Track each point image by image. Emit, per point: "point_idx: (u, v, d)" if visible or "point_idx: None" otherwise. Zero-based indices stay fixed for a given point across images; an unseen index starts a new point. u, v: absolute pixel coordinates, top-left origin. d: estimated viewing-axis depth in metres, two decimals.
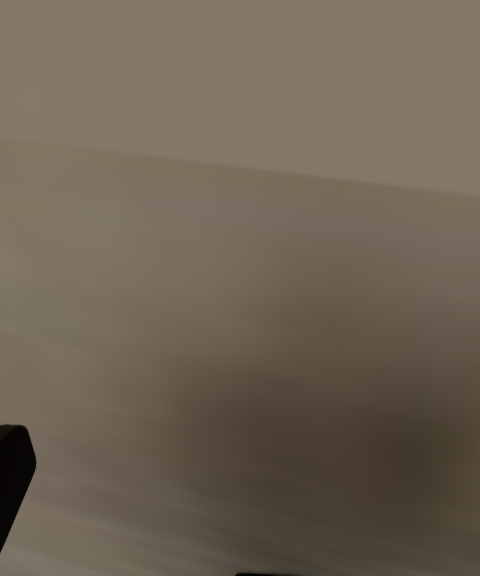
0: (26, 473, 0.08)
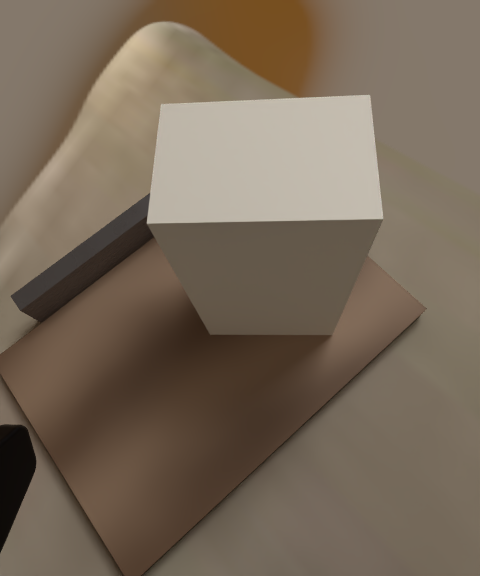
0: (26, 473, 0.08)
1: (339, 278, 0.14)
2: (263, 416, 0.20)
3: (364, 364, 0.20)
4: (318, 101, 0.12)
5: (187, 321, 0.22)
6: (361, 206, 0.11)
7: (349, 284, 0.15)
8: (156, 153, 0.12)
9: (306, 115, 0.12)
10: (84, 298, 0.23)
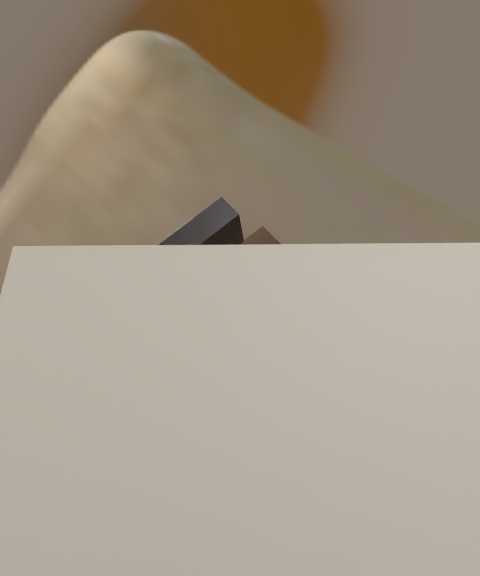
0: None
1: None
2: None
3: None
4: (426, 257, 0.04)
5: None
6: None
7: None
8: None
9: (395, 300, 0.04)
10: None
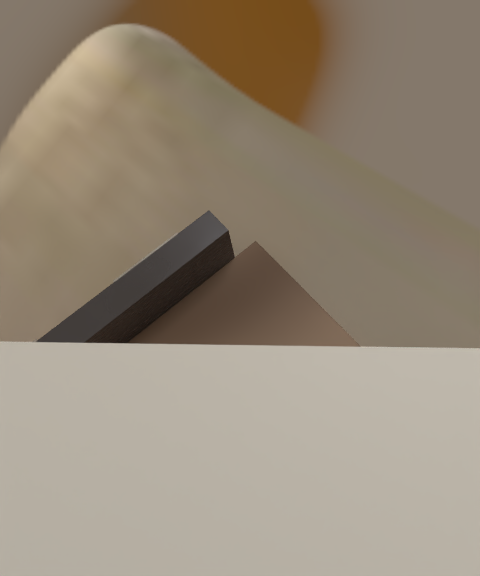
0: None
1: None
2: None
3: None
4: None
5: None
6: None
7: None
8: None
9: (453, 453, 0.03)
10: None
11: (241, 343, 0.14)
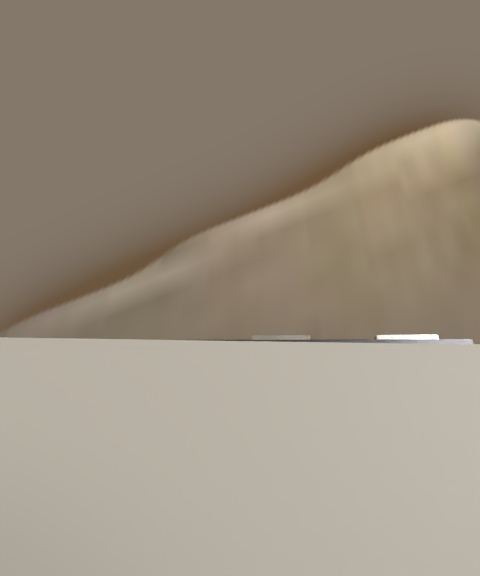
0: None
1: None
2: None
3: None
4: None
5: None
6: None
7: None
8: None
9: (450, 446, 0.03)
10: None
11: None
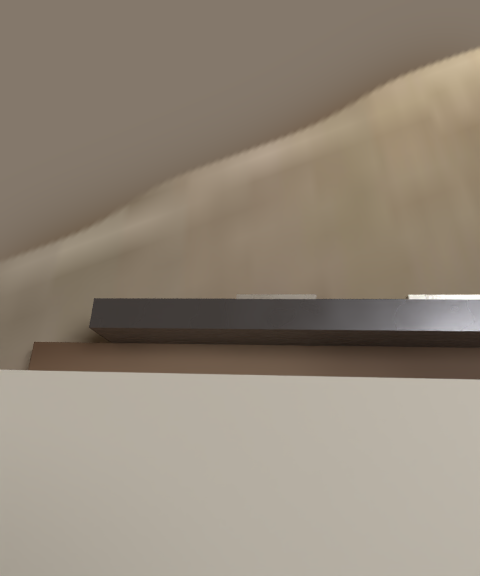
0: None
1: None
2: None
3: None
4: (442, 398, 0.04)
5: None
6: None
7: None
8: None
9: (404, 457, 0.03)
10: (176, 354, 0.15)
11: None
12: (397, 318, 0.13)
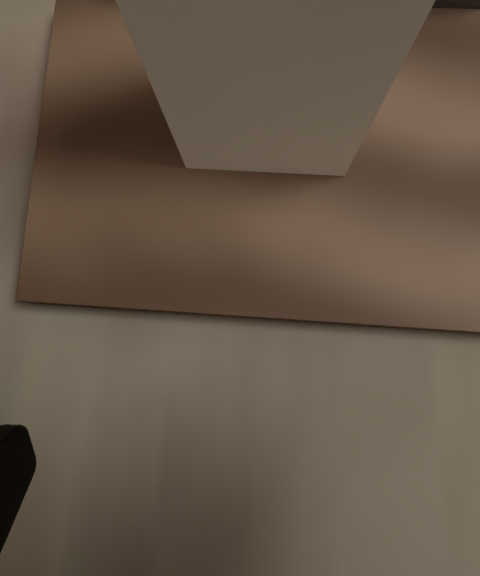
0: (26, 473, 0.08)
1: (385, 42, 0.09)
2: (248, 277, 0.16)
3: (389, 323, 0.15)
4: None
5: None
6: None
7: (396, 61, 0.10)
8: None
9: None
10: None
11: (433, 69, 0.16)
12: None
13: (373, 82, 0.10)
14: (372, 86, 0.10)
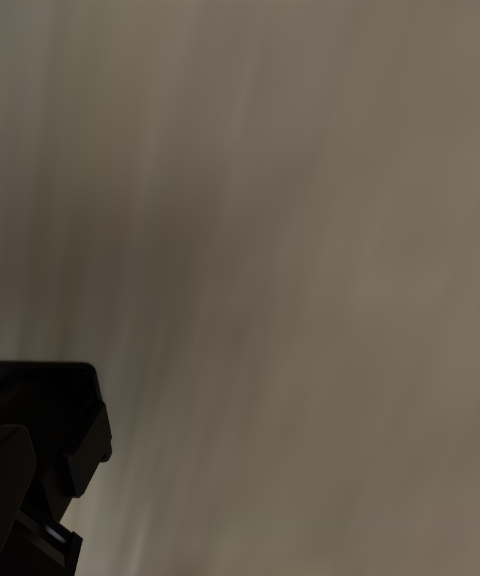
0: (26, 473, 0.08)
1: None
2: None
3: None
4: None
5: None
6: None
7: None
8: None
9: None
10: None
11: None
12: None
13: None
14: None
